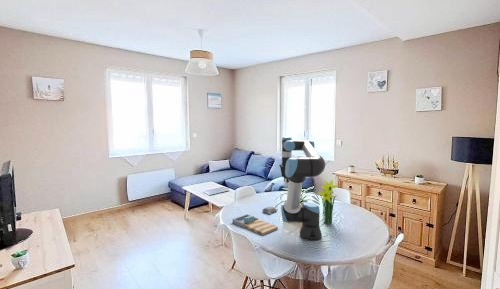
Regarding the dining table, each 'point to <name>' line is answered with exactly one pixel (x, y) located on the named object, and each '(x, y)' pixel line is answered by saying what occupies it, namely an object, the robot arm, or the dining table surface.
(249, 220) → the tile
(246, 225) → the slatted wooden board
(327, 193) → the daffodil flowers
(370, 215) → the dining table surface
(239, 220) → the tray
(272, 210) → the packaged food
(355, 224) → the dining table surface
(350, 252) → the dining table surface
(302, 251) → the dining table surface
